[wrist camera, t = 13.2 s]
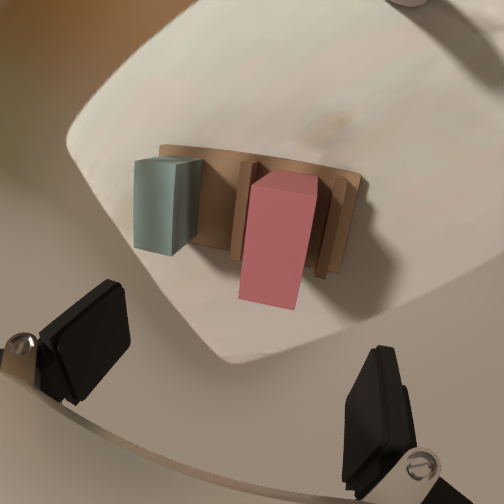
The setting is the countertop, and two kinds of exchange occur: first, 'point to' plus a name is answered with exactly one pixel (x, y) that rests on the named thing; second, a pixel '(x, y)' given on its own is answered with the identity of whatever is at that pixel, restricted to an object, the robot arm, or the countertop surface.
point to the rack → (231, 202)
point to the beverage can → (409, 2)
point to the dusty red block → (277, 237)
